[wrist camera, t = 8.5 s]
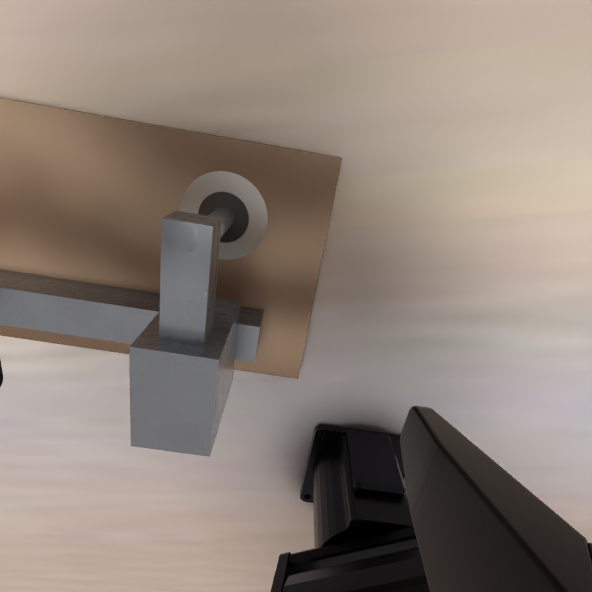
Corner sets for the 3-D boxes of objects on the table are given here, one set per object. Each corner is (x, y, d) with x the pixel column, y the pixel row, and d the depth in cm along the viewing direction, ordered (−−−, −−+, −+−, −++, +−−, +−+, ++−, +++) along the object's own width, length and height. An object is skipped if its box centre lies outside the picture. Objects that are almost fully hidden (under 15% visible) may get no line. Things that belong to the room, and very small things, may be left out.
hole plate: (298, 368, 22) (298, 380, 21) (-137, 304, 21) (-161, 313, 20) (339, 157, 17) (342, 158, 16) (-216, 59, 16) (-253, 54, 15)
